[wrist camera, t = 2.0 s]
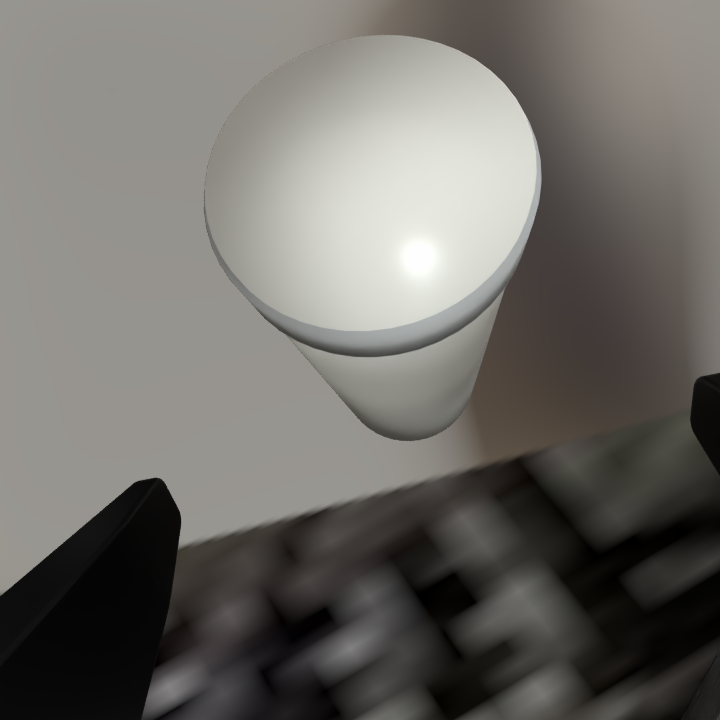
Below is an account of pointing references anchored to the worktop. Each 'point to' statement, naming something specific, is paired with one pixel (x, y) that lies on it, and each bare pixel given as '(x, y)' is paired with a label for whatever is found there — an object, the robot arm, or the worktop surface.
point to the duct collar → (706, 697)
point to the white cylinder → (378, 218)
